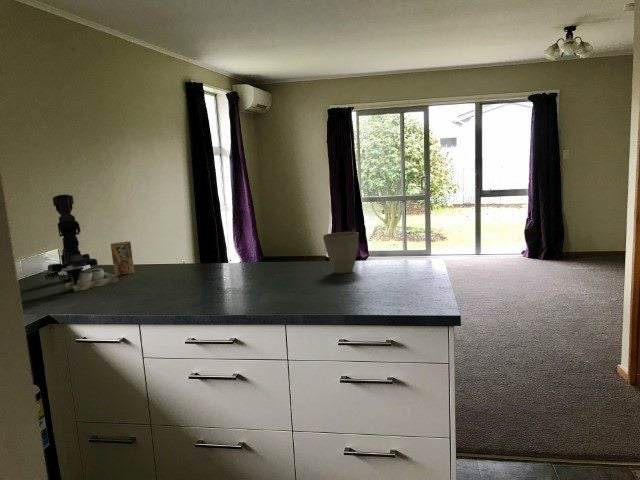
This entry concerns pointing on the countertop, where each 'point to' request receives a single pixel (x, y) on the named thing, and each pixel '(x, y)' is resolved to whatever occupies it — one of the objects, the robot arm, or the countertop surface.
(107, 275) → the follower
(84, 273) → the jar
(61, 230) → the robot arm
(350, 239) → the plant pot
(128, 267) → the candy box
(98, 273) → the jar in lane
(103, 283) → the lane
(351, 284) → the countertop surface
